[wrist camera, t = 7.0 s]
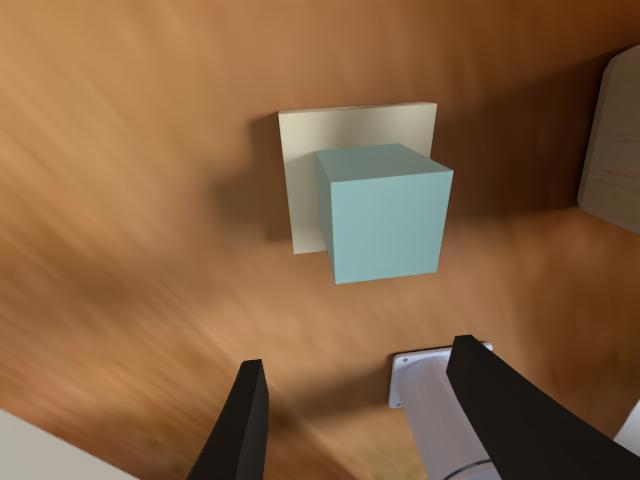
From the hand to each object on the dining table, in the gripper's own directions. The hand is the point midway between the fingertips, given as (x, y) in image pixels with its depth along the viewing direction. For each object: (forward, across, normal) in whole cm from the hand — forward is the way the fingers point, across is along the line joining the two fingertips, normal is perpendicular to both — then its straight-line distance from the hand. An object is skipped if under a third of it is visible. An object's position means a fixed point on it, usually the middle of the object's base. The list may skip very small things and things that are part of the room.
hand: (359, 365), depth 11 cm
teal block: (+8, -2, -4) cm, 9 cm away
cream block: (+10, -2, -4) cm, 11 cm away
